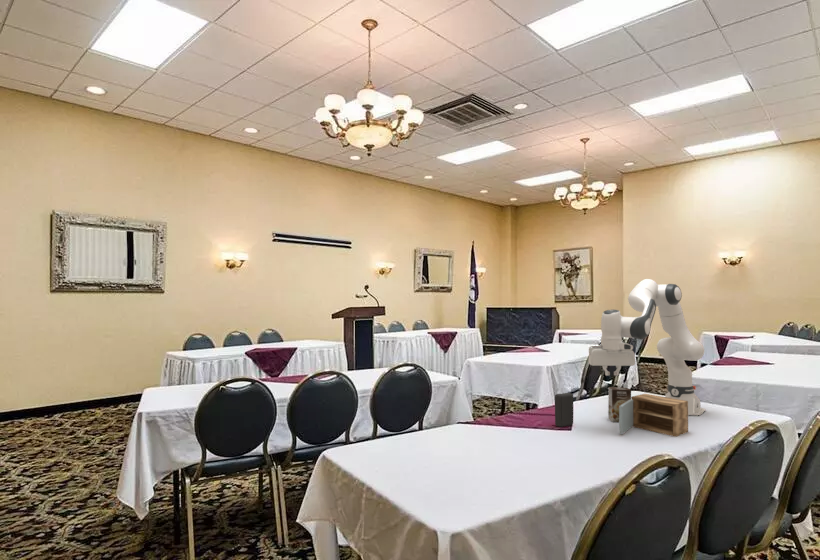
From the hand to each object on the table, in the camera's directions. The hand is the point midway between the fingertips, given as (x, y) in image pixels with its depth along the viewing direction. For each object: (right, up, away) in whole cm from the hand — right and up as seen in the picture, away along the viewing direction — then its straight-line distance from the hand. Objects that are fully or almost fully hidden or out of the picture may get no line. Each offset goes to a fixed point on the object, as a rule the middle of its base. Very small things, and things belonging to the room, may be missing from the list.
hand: (611, 375), depth 225 cm
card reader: (-19, -26, +8) cm, 33 cm away
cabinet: (+23, -25, +2) cm, 34 cm away
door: (+6, -24, -2) cm, 25 cm away
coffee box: (+11, -26, +16) cm, 32 cm away
